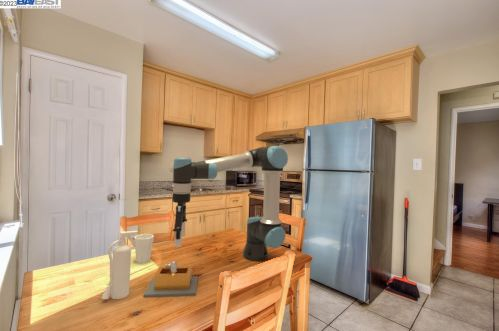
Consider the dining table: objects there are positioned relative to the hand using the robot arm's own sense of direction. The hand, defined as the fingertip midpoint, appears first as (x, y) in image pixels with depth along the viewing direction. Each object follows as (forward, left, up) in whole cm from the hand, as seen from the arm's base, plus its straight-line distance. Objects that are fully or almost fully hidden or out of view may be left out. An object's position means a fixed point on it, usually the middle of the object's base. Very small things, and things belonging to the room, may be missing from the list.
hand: (180, 241), depth 103 cm
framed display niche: (+2, +2, -18) cm, 18 cm away
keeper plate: (+2, +2, -19) cm, 19 cm away
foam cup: (+22, -26, -19) cm, 39 cm away
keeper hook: (+3, +2, -18) cm, 18 cm away
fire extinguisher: (+22, +7, -19) cm, 30 cm away
